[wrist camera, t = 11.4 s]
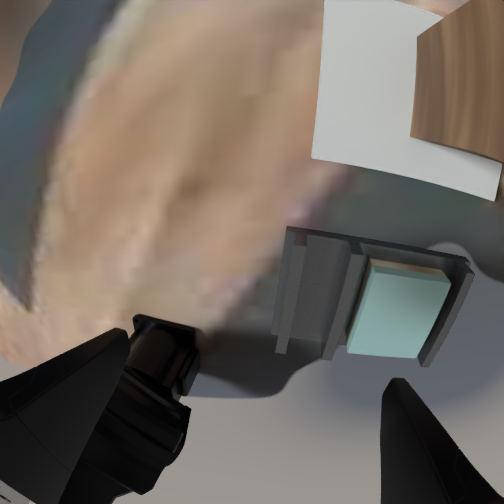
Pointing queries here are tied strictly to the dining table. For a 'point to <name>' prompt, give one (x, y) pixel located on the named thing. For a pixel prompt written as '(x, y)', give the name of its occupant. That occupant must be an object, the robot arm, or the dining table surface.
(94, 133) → the dining table surface
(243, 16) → the dining table surface
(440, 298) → the offcut upper
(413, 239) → the dining table surface
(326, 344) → the rack
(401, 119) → the board
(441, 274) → the offcut lower
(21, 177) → the dining table surface
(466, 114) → the brown flat block
